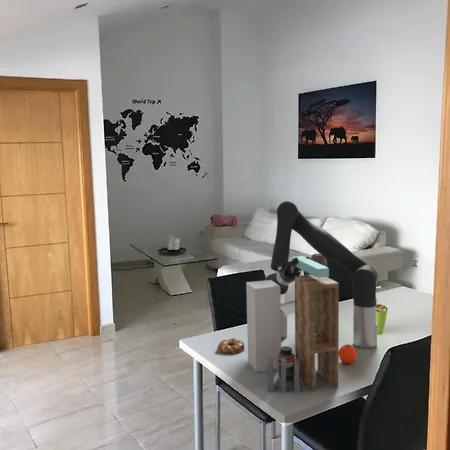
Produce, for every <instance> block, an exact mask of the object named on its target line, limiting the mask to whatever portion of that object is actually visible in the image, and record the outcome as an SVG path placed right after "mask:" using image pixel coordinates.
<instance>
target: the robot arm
mask: <svg viewBox="0 0 450 450" xmlns="http://www.w3.org/2000/svg"><path fill="white" fill-rule="evenodd" d="M292 231H294V232H296V233H297V234H298V235H299V236H300V237H302V238H303V240H305V242H306V243H307V244H308V245H309V246H310V247H311V248H312V249H313V250H315V251H316V252H317V254H321V255H322V256H323V257H325V258H326V260H328V261H330V262H332V263H333V264H336V265H339V266H340V267H342V268H344V269H345V270H346V271H347V272H348V273H349V274H350V275H351V276H352V300H353V306H352V307H353V308H352V309H353V310H352V311H353V314H352V315H353V317H352V320H353V323H352V324H353V327H352V328H353V329H352V333H353V334H352V336H353V337H352V342H353V343H352V344H353V345H354V346H355V347H358V348H366V349H370V348H374V347H376V348H377V347H378V323H377V302H378V301H377V300H378V299H377V294H376V293H377V292H376V291H377V289H376V288H377V281H378V278H379V277H378V272H377V270H376V269H375V268H374V267H373V266H372V265H370V264H369V263H367V262H365V261H364V260H362V259H361V258H359V257H358V256H357V255H355V254H354V253H353V252H352V251H350V250H349V248H347V247H346V246H345V245H344V244H343V243H342V242H340V241H339V240H338V239H337V238H336V237H334V235H332V234H330V232H329V231H327V230H326V229H324V228H321V226H319V225H317V224H315V223H313V222H312V221H311V220H309V219H307V218H306V217H305V215H303V214H302V212H300V210H299V209H298V207H297V205H296V204H295V203H294V202H292V201H290V200H289V201H288V200H287V201H286V200H285V201H282V202H281V203H279V205H278V206H277V209H276V233H275V240H274V241H275V242H274V245H273V251H272V255H271V261H270V269H271V270H273V271H274V272H273V273H271V274H269V275H267V276H266V277H265V278H264V280H263V281H265V280H272V281H273V282H275V283H276V284H278V285H279V286H280V296H281V295H285V294H286V293H288V290H289V285H291V284H292V283H295V276H301V273H302V271H303V270H302V269H300V268H298V267H296V265H297V264H298V258H297V257H296V256H294V257H295V258H294V259H293V260H292V259H291V260H289V258H290V250H291V238H292V237H291V236H292ZM305 257H306V258H308V259H310V260H311V257H310V256H309V255H308V256H305Z"/></svg>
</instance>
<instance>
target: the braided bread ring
mask: <svg viewBox="0 0 450 450" xmlns="http://www.w3.org/2000/svg"><path fill="white" fill-rule="evenodd" d="M245 347H246V346H245V342H244V341H243V340H241V339H239V340H238V338H232V337H231V338H229V339H224V340H222V341H220V342H219V344H218V345H217V349H216V350H217V352H218V353H220V354H225V355H226V354H227V355H233V354H240V353H241V352H243V351H244V350H245Z"/></svg>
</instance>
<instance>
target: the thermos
mask: <svg viewBox="0 0 450 450" xmlns="http://www.w3.org/2000/svg"><path fill="white" fill-rule="evenodd" d="M310 259H311V260H312V261H314V262H317V263H319V264H321V265H323V266H326V267H328V261H327V260H328V259H326V258H325V257H323V256H322V255H321V254H320V253H314V254H311V257H310ZM309 275H311V274H309ZM315 334H317V290H315Z"/></svg>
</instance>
